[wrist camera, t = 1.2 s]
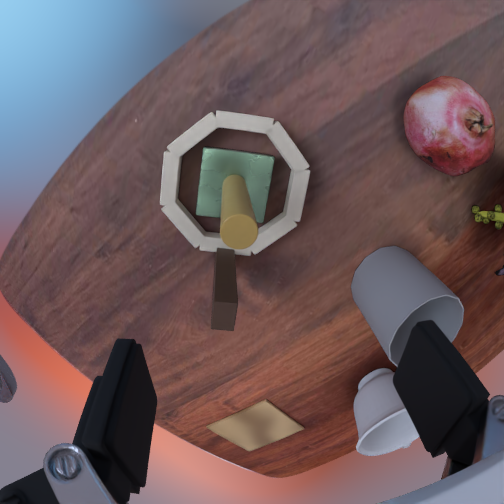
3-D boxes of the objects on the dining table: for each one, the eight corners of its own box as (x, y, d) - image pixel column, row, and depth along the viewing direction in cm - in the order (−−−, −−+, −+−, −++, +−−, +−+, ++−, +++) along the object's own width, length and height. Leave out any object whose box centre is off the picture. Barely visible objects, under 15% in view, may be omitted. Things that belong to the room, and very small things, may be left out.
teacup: (356, 421, 45) (373, 467, 36) (325, 381, 39) (344, 440, 30) (418, 386, 43) (443, 430, 34) (402, 337, 37) (436, 390, 28)
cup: (337, 282, 32) (372, 344, 23) (393, 230, 30) (447, 276, 21) (375, 321, 35) (410, 379, 26) (424, 277, 33) (471, 325, 24)
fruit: (467, 149, 27) (532, 170, 18) (405, 178, 28) (468, 208, 19) (445, 70, 23) (513, 69, 14) (376, 91, 24) (442, 88, 15)
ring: (172, 106, 24) (141, 101, 15) (314, 126, 25) (360, 134, 16) (159, 257, 29) (135, 320, 20) (284, 271, 31) (307, 335, 22)
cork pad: (249, 449, 46) (249, 451, 45) (206, 425, 42) (206, 427, 41) (304, 426, 44) (304, 428, 43) (265, 398, 39) (266, 401, 39)
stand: (196, 211, 28) (178, 276, 17) (204, 145, 25) (186, 168, 14) (261, 219, 29) (284, 287, 18) (273, 155, 26) (307, 184, 15)
